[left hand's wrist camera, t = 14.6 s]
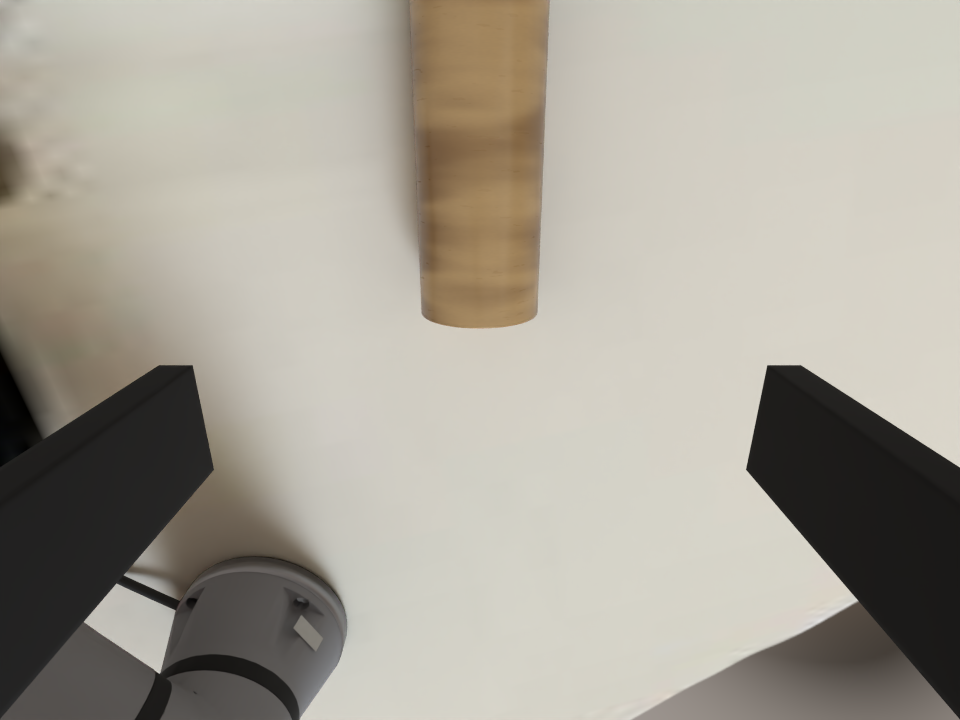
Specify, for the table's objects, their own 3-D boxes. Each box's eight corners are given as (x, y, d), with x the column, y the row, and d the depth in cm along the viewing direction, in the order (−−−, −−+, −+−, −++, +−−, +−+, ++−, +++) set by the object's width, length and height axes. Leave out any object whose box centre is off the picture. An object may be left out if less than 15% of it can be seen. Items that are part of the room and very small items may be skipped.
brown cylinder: (531, 297, 39) (543, 328, 32) (427, 297, 39) (415, 328, 32) (545, -99, 31) (565, -178, 24) (413, -99, 31) (392, -177, 24)
